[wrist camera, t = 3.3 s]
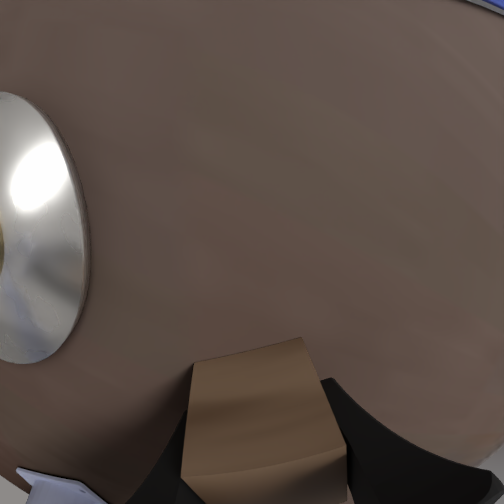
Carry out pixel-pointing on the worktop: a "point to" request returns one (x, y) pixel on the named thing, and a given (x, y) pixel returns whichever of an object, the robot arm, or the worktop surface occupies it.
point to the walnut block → (263, 431)
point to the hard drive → (491, 5)
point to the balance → (39, 234)
